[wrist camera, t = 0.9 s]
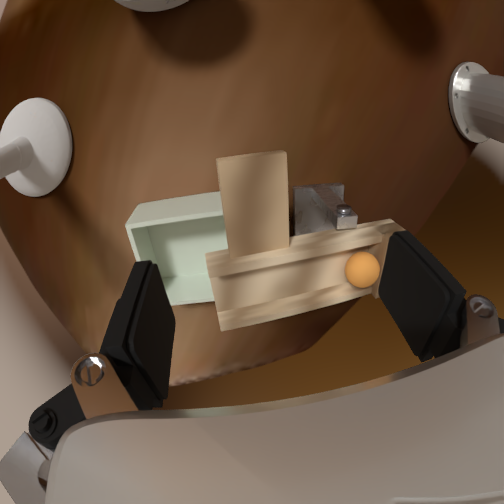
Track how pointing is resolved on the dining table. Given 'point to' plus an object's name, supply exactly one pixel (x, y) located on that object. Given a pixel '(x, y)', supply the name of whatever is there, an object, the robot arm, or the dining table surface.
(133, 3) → the teacup
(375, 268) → the ball
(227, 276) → the lever
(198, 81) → the dining table surface
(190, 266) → the pale green open box
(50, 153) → the candlestick
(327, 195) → the lever stand
